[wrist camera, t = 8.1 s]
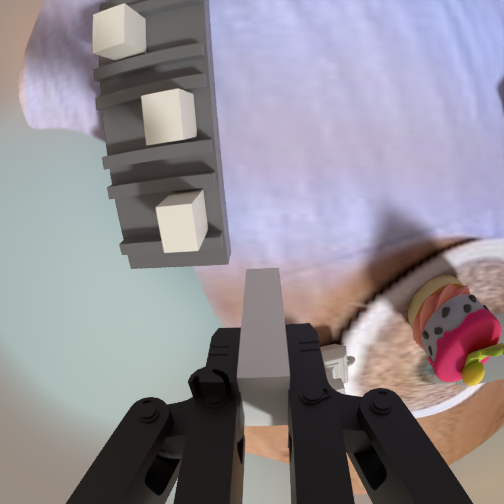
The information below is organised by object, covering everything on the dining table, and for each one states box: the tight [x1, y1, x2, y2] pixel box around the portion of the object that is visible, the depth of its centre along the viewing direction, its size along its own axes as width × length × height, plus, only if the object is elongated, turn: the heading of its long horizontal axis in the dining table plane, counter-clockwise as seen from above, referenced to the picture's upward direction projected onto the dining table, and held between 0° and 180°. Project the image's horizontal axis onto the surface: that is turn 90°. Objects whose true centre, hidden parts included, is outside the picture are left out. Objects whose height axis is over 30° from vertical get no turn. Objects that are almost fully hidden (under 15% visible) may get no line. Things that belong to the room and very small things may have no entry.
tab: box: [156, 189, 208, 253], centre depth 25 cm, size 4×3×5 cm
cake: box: [407, 275, 504, 386], centre depth 29 cm, size 10×11×15 cm
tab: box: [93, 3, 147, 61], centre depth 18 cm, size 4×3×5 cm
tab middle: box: [141, 88, 197, 146], centre depth 22 cm, size 4×3×5 cm
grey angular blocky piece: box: [320, 344, 355, 394], centre depth 36 cm, size 9×7×8 cm
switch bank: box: [94, 0, 231, 269], centre depth 25 cm, size 30×11×4 cm, turn 4°
